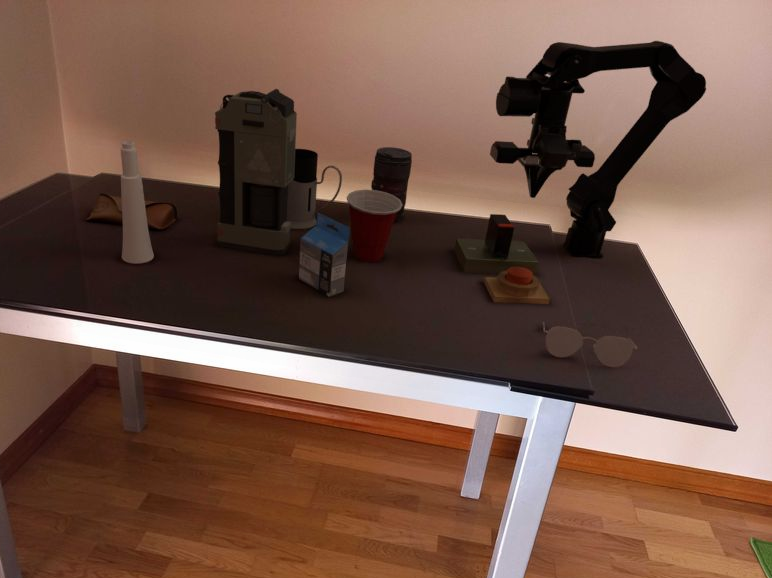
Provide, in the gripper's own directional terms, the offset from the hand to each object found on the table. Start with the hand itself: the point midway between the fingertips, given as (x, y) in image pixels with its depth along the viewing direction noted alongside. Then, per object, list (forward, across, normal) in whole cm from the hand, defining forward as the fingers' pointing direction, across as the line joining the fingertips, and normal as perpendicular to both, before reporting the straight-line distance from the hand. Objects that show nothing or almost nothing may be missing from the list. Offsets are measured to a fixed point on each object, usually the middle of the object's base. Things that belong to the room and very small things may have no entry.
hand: (532, 197), depth 138 cm
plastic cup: (+12, -32, -5) cm, 35 cm away
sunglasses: (+12, 0, -38) cm, 40 cm away
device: (+12, -55, -2) cm, 56 cm away
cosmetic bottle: (+12, -77, -10) cm, 79 cm away
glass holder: (+12, -44, +11) cm, 47 cm away
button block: (+12, -6, -19) cm, 23 cm away
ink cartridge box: (+12, -42, -19) cm, 48 cm away
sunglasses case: (+12, -82, +9) cm, 83 cm away
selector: (+9, -7, -6) cm, 13 cm away
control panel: (+12, -7, -6) cm, 15 cm away
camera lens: (+12, -26, +17) cm, 33 cm away
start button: (+9, -6, -19) cm, 22 cm away
